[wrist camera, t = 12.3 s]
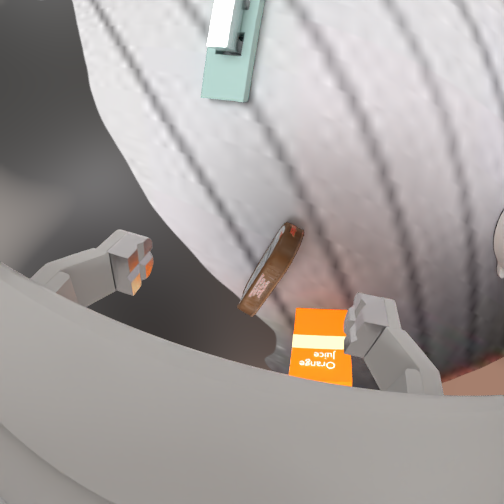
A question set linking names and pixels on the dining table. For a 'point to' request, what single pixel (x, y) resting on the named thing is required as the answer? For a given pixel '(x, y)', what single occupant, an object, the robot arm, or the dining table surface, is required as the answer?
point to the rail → (234, 61)
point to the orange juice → (320, 347)
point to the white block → (226, 25)
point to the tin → (271, 268)
